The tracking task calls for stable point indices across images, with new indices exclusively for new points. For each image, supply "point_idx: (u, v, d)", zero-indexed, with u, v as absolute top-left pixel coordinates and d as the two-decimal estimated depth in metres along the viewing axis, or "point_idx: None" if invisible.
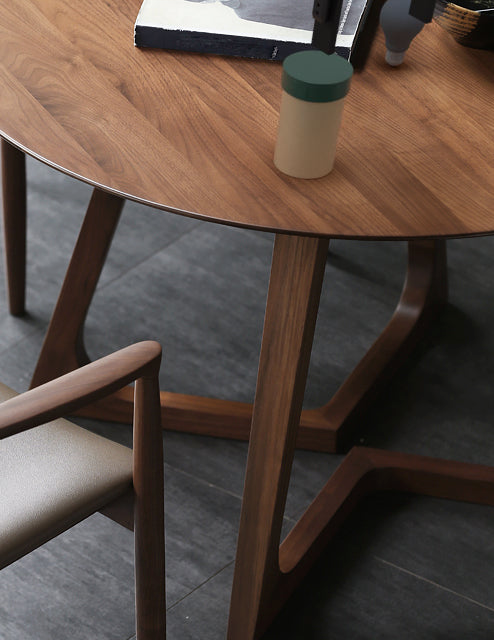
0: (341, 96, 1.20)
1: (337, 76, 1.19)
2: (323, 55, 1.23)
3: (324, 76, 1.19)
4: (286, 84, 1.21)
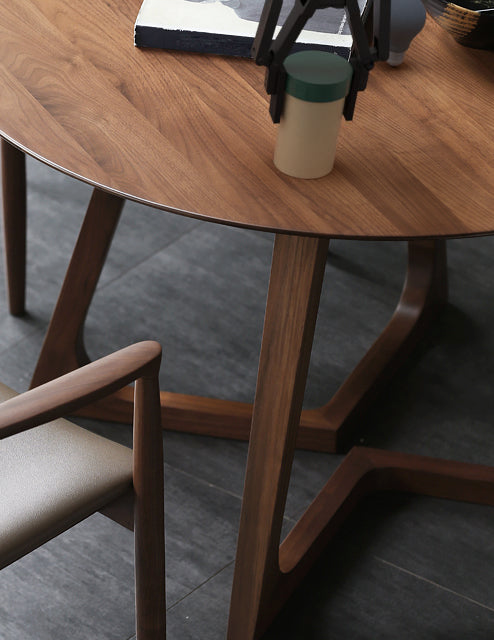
0: (341, 96, 1.20)
1: (337, 76, 1.19)
2: (323, 55, 1.23)
3: (324, 76, 1.19)
4: (286, 84, 1.21)
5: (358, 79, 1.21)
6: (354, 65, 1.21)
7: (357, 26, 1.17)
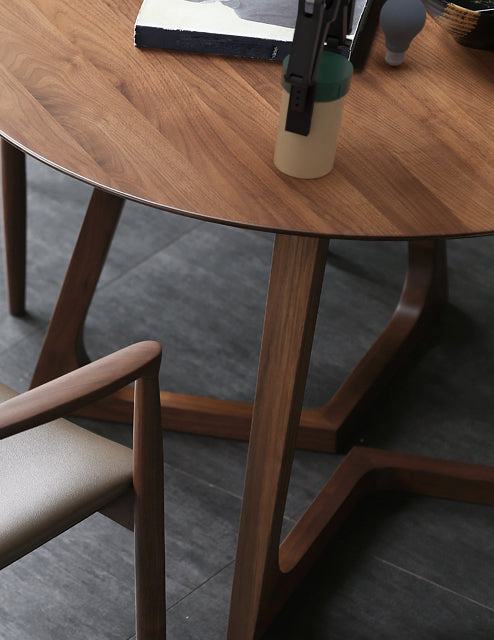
0: None
1: (342, 64, 1.21)
2: None
3: (337, 69, 1.20)
4: None
5: None
6: (333, 49, 1.23)
7: (345, 12, 1.19)
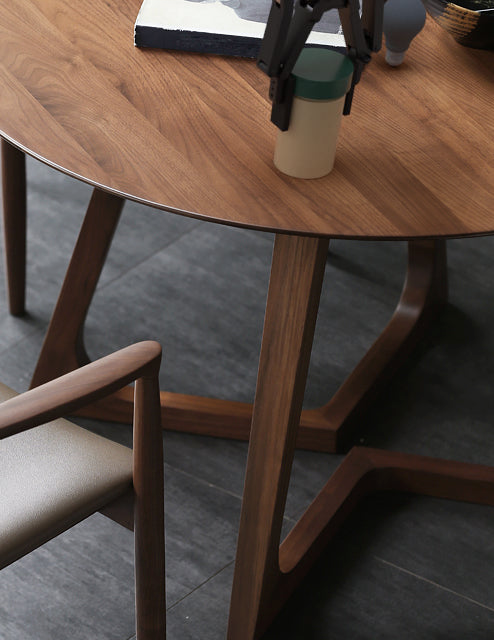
0: None
1: (323, 53, 1.23)
2: None
3: (331, 58, 1.22)
4: (347, 86, 1.20)
5: (356, 73, 1.22)
6: None
7: (356, 23, 1.18)
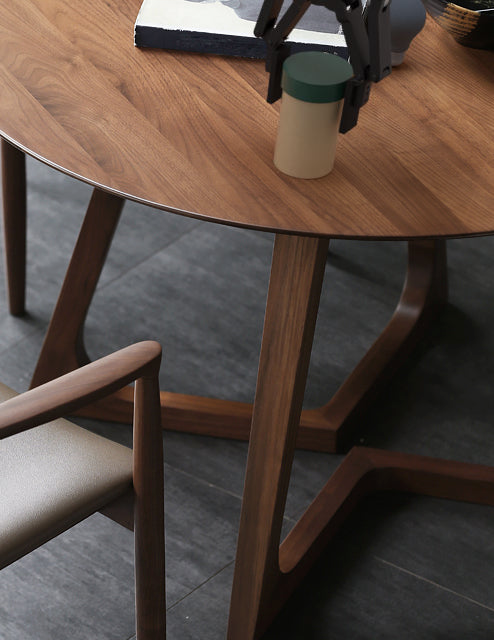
0: (282, 85, 1.22)
1: (293, 69, 1.21)
2: (336, 77, 1.19)
3: (298, 64, 1.22)
4: None
5: None
6: (285, 47, 1.23)
7: None
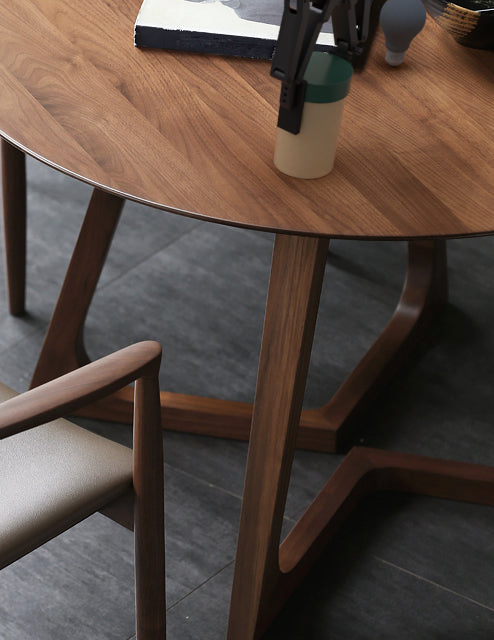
0: None
1: None
2: (336, 77, 1.19)
3: None
4: None
5: None
6: (342, 54, 1.23)
7: (351, 16, 1.19)
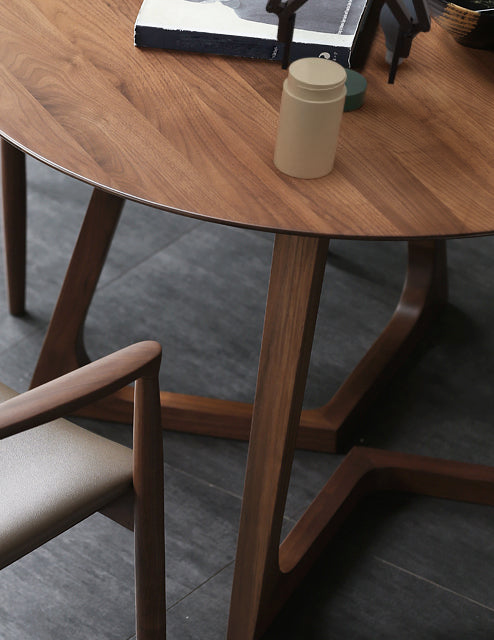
0: (356, 106, 1.39)
1: (353, 89, 1.38)
2: None
3: None
4: None
5: None
6: (294, 16, 1.36)
7: None
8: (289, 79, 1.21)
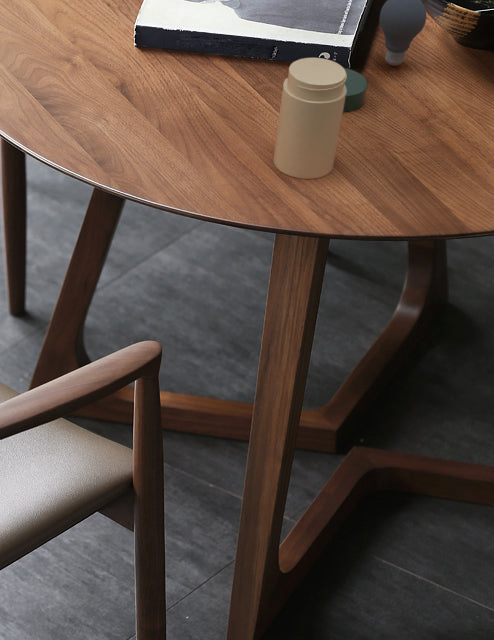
0: (356, 106, 1.39)
1: (353, 89, 1.38)
2: None
3: None
4: None
5: None
6: None
7: None
8: (289, 79, 1.21)
